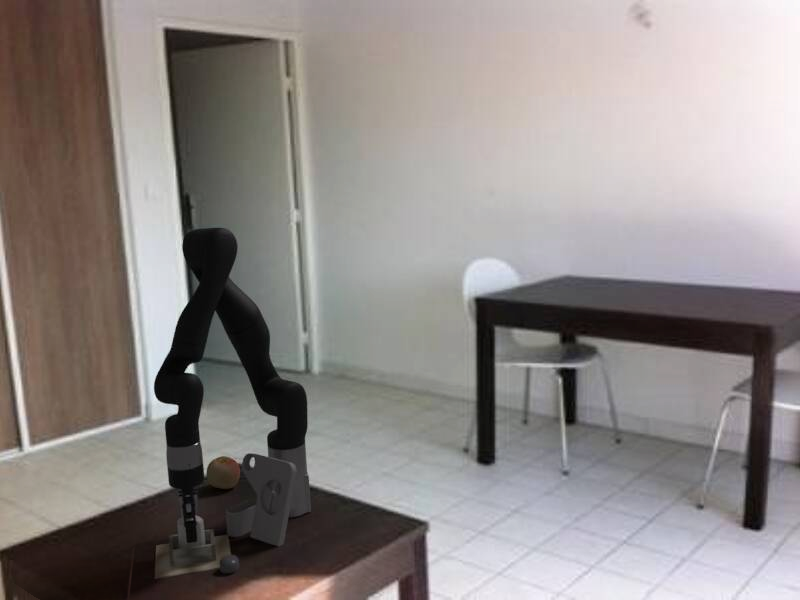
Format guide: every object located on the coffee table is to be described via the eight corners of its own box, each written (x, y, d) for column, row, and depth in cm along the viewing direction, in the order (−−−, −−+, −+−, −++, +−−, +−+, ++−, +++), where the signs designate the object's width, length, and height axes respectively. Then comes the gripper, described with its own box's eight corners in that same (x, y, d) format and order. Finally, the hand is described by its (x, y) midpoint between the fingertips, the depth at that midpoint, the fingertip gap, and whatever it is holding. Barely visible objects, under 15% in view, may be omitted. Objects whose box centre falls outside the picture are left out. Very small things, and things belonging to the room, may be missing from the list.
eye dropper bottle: (191, 559, 179) (187, 507, 177) (177, 552, 183) (172, 500, 181) (208, 552, 183) (204, 500, 181) (194, 544, 186) (189, 494, 184)
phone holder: (222, 536, 194) (216, 462, 191) (254, 521, 202) (249, 450, 199) (274, 554, 184) (269, 477, 181) (306, 537, 192) (301, 462, 189)
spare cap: (238, 560, 179) (238, 553, 178) (240, 574, 175) (239, 567, 174) (219, 563, 178) (218, 556, 177) (220, 577, 174) (220, 570, 173)
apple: (225, 479, 231) (222, 451, 229) (248, 485, 225) (245, 457, 224) (201, 490, 224) (198, 461, 222) (223, 496, 218) (221, 467, 217)
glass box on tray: (228, 538, 193) (226, 520, 192) (232, 569, 177) (231, 549, 177) (156, 549, 189) (154, 530, 188) (154, 582, 173) (153, 561, 173)
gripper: (204, 471, 174) (210, 548, 176) (201, 449, 187) (208, 521, 190) (166, 476, 172) (174, 553, 175) (167, 454, 185) (174, 526, 188)
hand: (191, 536), depth 182 cm, fingers open, 4 cm apart
